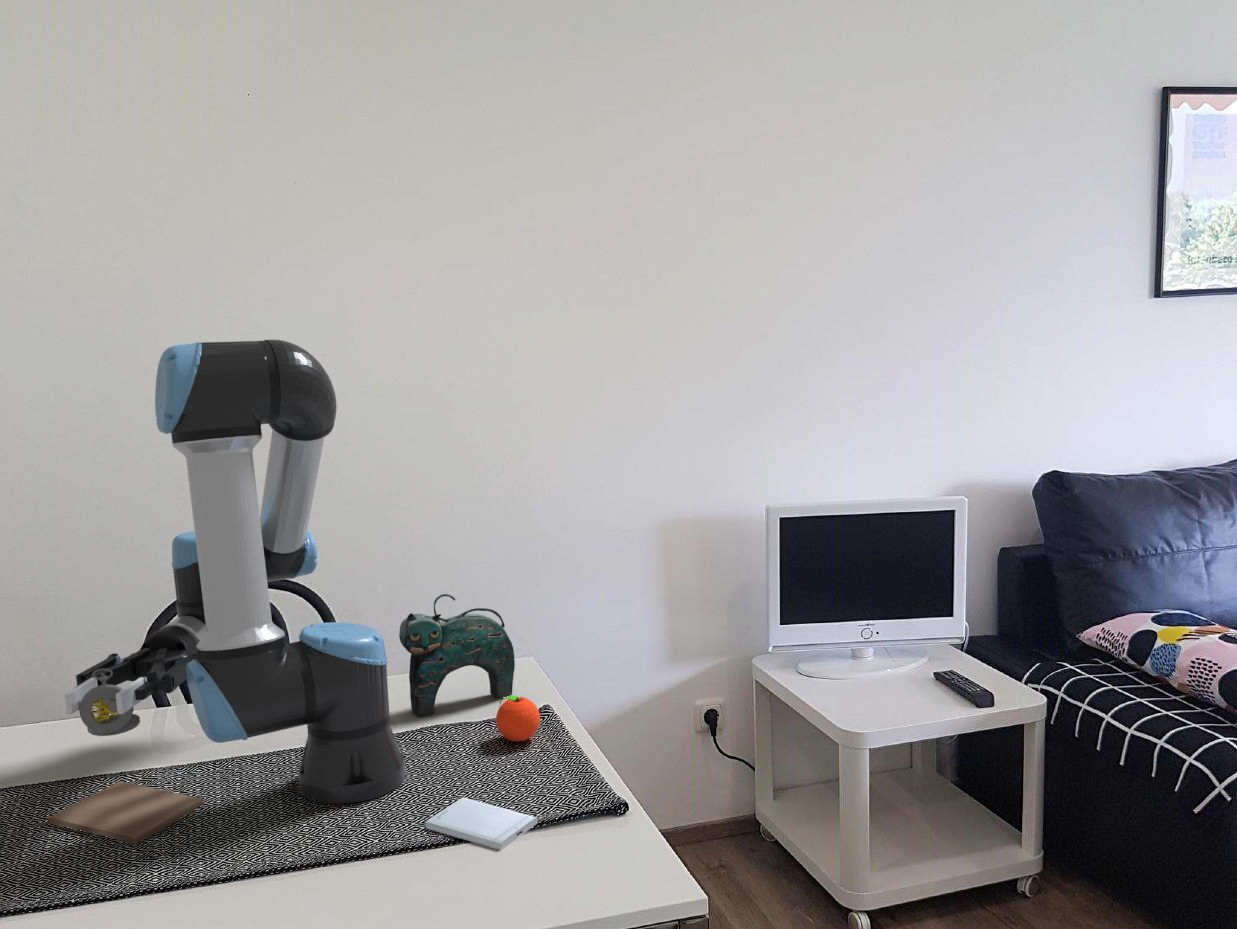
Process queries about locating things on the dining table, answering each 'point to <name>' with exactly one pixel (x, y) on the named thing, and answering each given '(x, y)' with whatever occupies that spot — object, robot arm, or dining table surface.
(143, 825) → the walnut board
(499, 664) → the ceramic cat
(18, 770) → the dining table surface
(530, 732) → the clementine
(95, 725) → the pocket watch
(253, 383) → the robot arm
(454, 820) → the hard drive
